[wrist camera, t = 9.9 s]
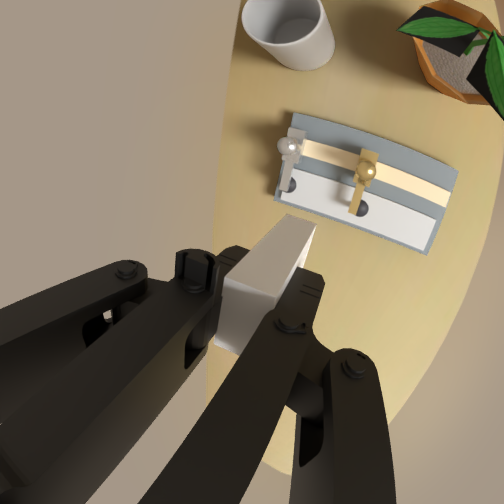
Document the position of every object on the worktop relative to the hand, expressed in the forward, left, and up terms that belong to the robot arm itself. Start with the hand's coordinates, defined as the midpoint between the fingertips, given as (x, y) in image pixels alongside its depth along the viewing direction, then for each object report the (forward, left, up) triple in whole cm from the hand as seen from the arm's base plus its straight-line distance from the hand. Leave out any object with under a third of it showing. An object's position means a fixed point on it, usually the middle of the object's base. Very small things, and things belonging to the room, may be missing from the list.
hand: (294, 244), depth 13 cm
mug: (-19, -8, -25) cm, 32 cm away
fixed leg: (-1, -6, -22) cm, 22 cm away
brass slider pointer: (-1, +3, -21) cm, 22 cm away
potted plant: (-20, +11, -25) cm, 33 cm away
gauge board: (-1, +4, -24) cm, 25 cm away
